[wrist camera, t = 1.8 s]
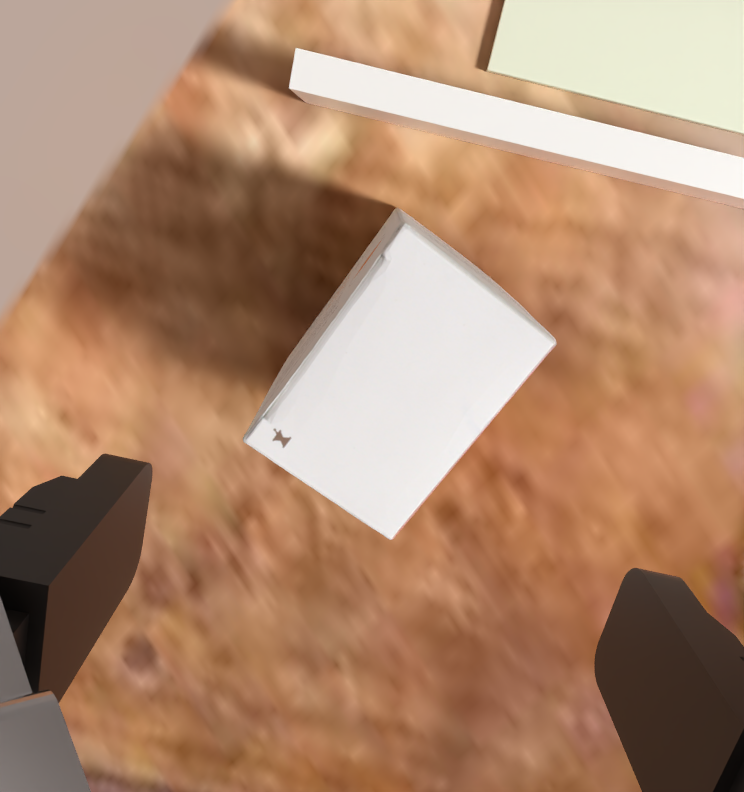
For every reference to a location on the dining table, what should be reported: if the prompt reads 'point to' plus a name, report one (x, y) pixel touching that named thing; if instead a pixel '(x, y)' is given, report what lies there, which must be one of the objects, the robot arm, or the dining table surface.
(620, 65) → the sage mat
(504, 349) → the small box
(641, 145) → the white wall
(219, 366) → the dining table surface
